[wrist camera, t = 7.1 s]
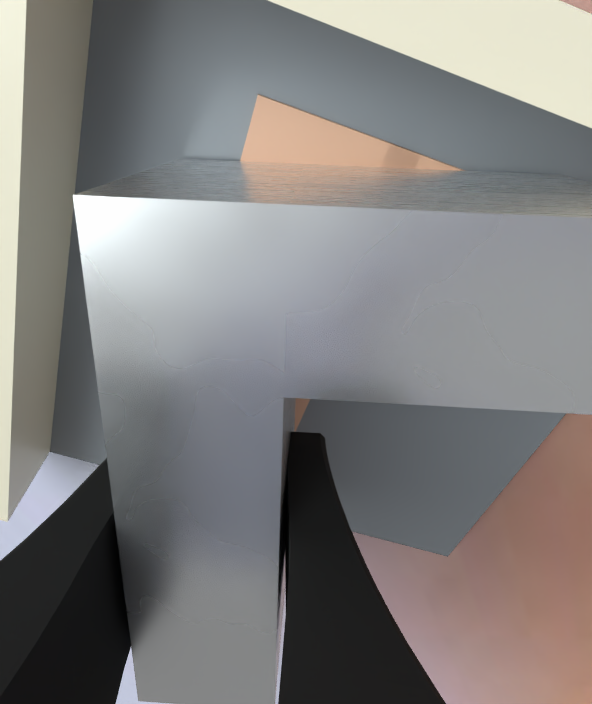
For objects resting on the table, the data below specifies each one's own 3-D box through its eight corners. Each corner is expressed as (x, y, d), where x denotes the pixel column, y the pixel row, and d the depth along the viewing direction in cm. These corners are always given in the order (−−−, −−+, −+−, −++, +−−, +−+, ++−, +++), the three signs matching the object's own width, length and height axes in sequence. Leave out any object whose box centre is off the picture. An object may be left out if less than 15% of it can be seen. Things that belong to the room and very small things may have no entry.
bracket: (480, 532, 14) (552, 731, 10) (197, 514, 14) (138, 700, 10) (561, 174, 11) (739, 223, 6) (179, 158, 11) (72, 194, 6)
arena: (784, 115, 10) (931, 159, 8) (444, 540, 18) (462, 632, 16) (46, -196, 9) (-77, -271, 6) (18, 426, 16) (-41, 510, 14)
